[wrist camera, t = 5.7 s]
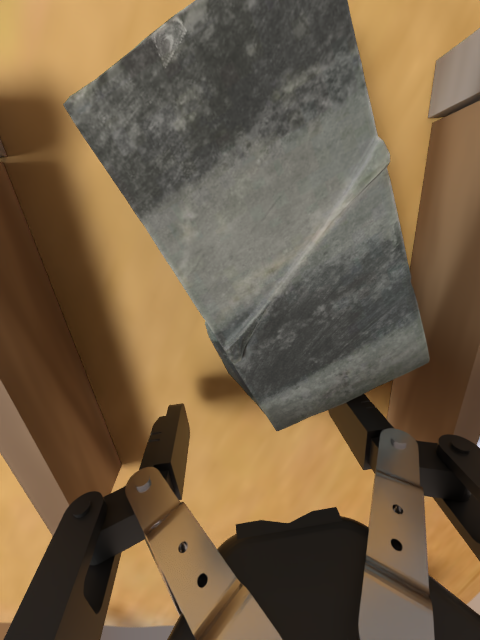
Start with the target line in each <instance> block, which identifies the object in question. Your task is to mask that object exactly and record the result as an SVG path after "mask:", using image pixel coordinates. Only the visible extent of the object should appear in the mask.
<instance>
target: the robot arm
mask: <svg viewBox="0 0 480 640" xmlns="http://www.w3.org/2000/svg"><path fill="white" fill-rule="evenodd" d="M328 411H329V414H330V416H331V418H332V419H333V421H334V423H335V424H336V426H337V428H338V429H339V431H340V433H341V434H342V436H343V438H344V439H345V441H346V442H347V444H348V446H349V447H350V449H351V451H352V452H353V454H354V456H355V457H356V459H357V461H358V462H359V464H360V466H361V467H362V469H363V470H367V469H372V470H373V471H374V473H375V478H374V486H373V494H372V503H371V511H370V519H369V527H367V526H365V525H364V524H362V523H360V522H358V521H356V520H353V519H350V518H346V517H342V516H340V515H339V512H338V510H337V508H336V507H334V508H328V509H322V510H317V511H312V512H310V513H308V514H306V515H304V516H302V517H300V518H298V519H296V520H294V521H293V522H290V523H280V522H272V521H264V520H259V521H253V522H248V523H242V524H236V533H237V534H235V535H234V536H232V537H230V538H229V539H227V540H226V541H225V542H224V543H223V544H222V545H221V546H220V547H219V548H218V549H216V547H215V546H214V545H213V543H212V542H211V540H210V539H209V537H208V536H207V534H206V533H205V532H204V530H203V529H202V527H201V526H200V524H199V523H198V521H197V520H196V519H195V517H194V516H193V514H192V513H191V511H190V510H189V508H188V507H187V506H186V504H185V503H184V502H180V501H179V500H182V494H183V486H184V478H185V470H186V462H187V454H188V446H189V438H190V429H189V423H188V419H187V415H186V411H185V406H184V404H183V403H182V404H176V405H169V407H168V410H167V414H166V416H162V417H159V418H158V420H157V421H156V422H155V423H154V425H153V428H152V431H151V435H150V437H149V440H148V443H147V446H146V450H145V453H144V456H143V459H142V462H141V465H140V468H139V471H137V472H136V473H135V474H133V475H132V476H131V478H130V479H129V480H128V482H127V484H126V486H125V487H123V488H121V489H119V490H117V491H115V492H113V493H111V494H109V495H106V496H104V497H103V496H102V494H101V493H100V492H97V491H91V492H87V493H85V494H83V495H81V496H80V497H78V498H77V499H76V500H74V501H73V502H72V503H71V504H70V505H69V507H68V508H67V509H66V511H65V513H64V514H63V517H62V519H61V521H60V523H59V525H58V527H57V529H56V531H55V533H54V535H53V537H52V540H51V542H50V544H49V546H48V548H47V550H46V552H45V554H44V556H43V558H42V560H41V563H40V565H39V567H38V569H37V571H36V573H35V575H34V577H33V579H32V581H31V583H30V586H29V588H28V590H27V592H26V594H25V596H24V598H23V600H22V602H21V604H20V606H19V609H18V611H17V613H16V615H15V617H14V619H13V621H12V623H11V625H10V627H9V629H8V632H7V634H6V636H5V638H4V640H100V638H101V634H102V630H103V626H104V622H105V618H106V614H107V610H108V605H109V601H110V597H111V593H112V589H113V585H114V581H115V577H116V573H117V568H118V564H119V560H120V556H121V552H122V551H124V550H126V549H128V548H129V547H131V546H133V545H135V544H137V543H139V542H140V541H142V540H144V539H145V541H146V543H147V546H148V548H149V550H150V552H151V554H152V556H153V558H154V561H155V563H156V565H157V567H158V569H159V571H160V573H161V576H162V578H163V580H164V582H165V584H166V587H167V589H168V591H169V593H170V596H171V598H172V600H173V602H174V604H175V606H176V609H177V611H178V613H179V615H180V617H179V619H178V621H177V622H176V624H175V626H174V628H173V630H172V632H171V634H170V636H169V638H168V639H167V640H480V615H479V614H477V613H476V612H475V611H474V610H472V609H471V608H470V607H468V606H467V605H466V604H465V603H463V602H462V601H461V600H460V599H458V598H457V597H456V596H455V595H453V594H452V593H451V592H450V591H448V590H447V589H446V588H445V587H443V586H442V585H441V584H440V583H438V582H437V581H436V580H435V579H433V578H432V577H431V576H429V575H428V562H427V544H426V526H425V508H424V496H430V497H433V498H434V500H435V501H436V502H437V504H438V505H439V506H440V508H441V509H442V511H443V512H444V513H445V515H446V516H447V517H448V519H449V520H450V521H451V523H452V524H453V525H454V527H455V528H456V529H457V531H458V532H459V534H460V535H461V536H462V538H463V539H464V540H465V542H466V543H467V544H468V546H469V547H470V548H471V550H472V551H473V553H474V554H475V555H476V557H477V558H478V559H479V561H480V448H479V447H478V446H477V445H475V444H474V443H473V442H471V441H469V440H467V439H465V438H463V437H460V436H457V435H452V434H446V435H442V436H441V437H440V438H439V440H438V443H432V442H424V441H417V440H415V439H414V438H413V437H412V436H411V435H409V434H408V433H406V432H404V431H402V430H399V429H395V428H394V427H393V426H392V425H391V424H390V423H389V422H388V421H387V419H386V418H385V417H384V416H383V415H382V414H381V413H380V411H379V410H378V409H377V408H375V406H374V405H373V404H372V402H370V400H369V399H368V398H367V397H366V396H365V395H364V394H362V395H360V396H358V397H356V398H354V399H352V400H350V401H348V402H346V403H344V404H342V405H339V406H337V407H334V408H332V409H329V410H328Z"/></svg>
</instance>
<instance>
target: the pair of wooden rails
mask: <svg viewBox="0 0 480 640" xmlns="http://www.w3.org/2000/svg"><path fill="white" fill-rule="evenodd" d="M436 117H444V118H442V119H440V120H438V121H436V122H434V123H432V129H431V136H430V142H429V149H428V155H427V162H426V168H425V175H424V181H423V188H422V194H421V201H420V207H419V214H418V221H417V227H416V234H415V240H414V247H413V253H412V260H411V266H410V274H411V284H412V287H413V289H414V293H415V296H416V299H417V303H418V308H419V312H420V317H421V321H422V325H423V329H424V334H425V338H426V343H427V347H428V353H429V358H430V360H429V363H427V364H425V365H423V366H421V367H419V368H417V369H415V370H413V371H411V372H409V373H406V374H404V375H402V376H400V377H398V378H395V379H393V384H392V390H391V397H390V403H389V410H388V416H387V421H388V422H389V423H390V424H391V425H392V426H393V427H394V428H395V429H399V430H402V431H404V432H406V433H408V434H409V435H411V436H412V437H413V438H414V439H415V440H417V441H424V442H432V443H438V440H439V438H440V437H441V436H442V435H446V434H452V435H457V436H460V437H463V438H465V439H467V440H469V441H471V442H473V443H474V444H475V445H477V442H478V439H479V436H480V28H479V29H478V30H476V31H475V32H474V33H473V34H471V35H470V36H469V37H467V38H466V39H465V40H463V41H462V42H461V43H459V44H458V45H457V46H455V47H454V48H453V49H451V50H450V51H449V52H447V53H446V54H445V55H443V56H442V57H441V58H439V59H438V60H437V61H436V67H435V74H434V81H433V88H432V95H431V101H430V108H429V115H428V118H436ZM0 157H7V155H6V152H5V149H4V147H3V144H2V142H1V139H0ZM0 453H1V455H2V456H3V458H4V459H5V461H6V463H7V464H8V466H9V467H10V469H11V471H12V472H13V474H14V475H15V477H16V478H17V480H18V482H19V483H20V485H21V486H22V488H23V490H24V491H25V493H26V494H27V496H28V498H29V499H30V501H31V502H32V504H33V505H34V507H35V509H36V510H37V512H38V513H39V515H40V517H41V518H42V520H43V521H44V523H45V524H46V526H47V528H48V529H49V531H50V532H51V534H52V536H53V535H54V533H55V531H56V529H57V527H58V525H59V523H60V521H61V519H62V517H63V514H64V513H65V511H66V509H67V508H68V507H69V505H70V504H71V503H72V502H73V501H74V500H76V499H77V498H78V497H80V496H81V495H83V494H85V493H87V492H91V491H97V492H100V493H101V494H102V496H103V497H104V496H106V495H109V494H110V493H111V491H112V488H113V486H114V483H115V481H116V478H117V476H118V473H119V471H120V468H121V466H122V465H121V462H120V460H119V457H118V454H117V452H116V449H115V447H114V444H113V442H112V439H111V437H110V434H109V431H108V429H107V426H106V424H105V421H104V419H103V416H102V414H101V411H100V409H99V406H98V403H97V401H96V398H95V396H94V393H93V391H92V388H91V386H90V383H89V380H88V378H87V375H86V373H85V370H84V368H83V365H82V363H81V360H80V357H79V355H78V352H77V350H76V347H75V345H74V342H73V340H72V337H71V334H70V332H69V329H68V327H67V324H66V322H65V319H64V317H63V314H62V311H61V309H60V306H59V304H58V301H57V299H56V296H55V294H54V291H53V289H52V286H51V283H50V281H49V278H48V276H47V273H46V271H45V268H44V266H43V263H42V260H41V258H40V255H39V253H38V250H37V248H36V245H35V243H34V240H33V237H32V235H31V232H30V230H29V227H28V225H27V222H26V220H25V217H24V214H23V212H22V209H21V207H20V204H19V202H18V199H17V197H16V194H15V191H14V189H13V186H12V184H11V181H10V179H9V176H8V174H7V171H6V169H5V166H4V163H3V162H0Z"/></svg>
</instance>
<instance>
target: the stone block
mask: <svg viewBox="0 0 480 640" xmlns="http://www.w3.org/2000/svg"><path fill="white" fill-rule="evenodd" d="M63 105H64V107H65V109H66V110H67V112H68V113H69V115H70V117H71V118H72V120H73V121H74V123H75V125H76V126H77V128H78V129H79V131H80V132H81V134H82V135H83V137H84V138H85V140H86V141H87V143H88V144H89V146H90V147H91V149H92V150H93V152H94V153H95V154H96V156H97V157H98V159H99V160H100V162H101V163H102V165H103V166H104V168H105V169H106V171H107V172H108V174H109V175H110V176H111V178H112V179H113V181H114V182H115V184H116V185H117V187H118V188H119V190H120V191H121V193H122V194H123V195H124V197H125V198H126V200H127V201H128V203H129V204H130V206H131V208H132V209H133V211H134V212H135V214H136V215H137V217H138V218H139V219H140V221H141V222H142V223H143V225H144V226H145V228H146V229H147V231H148V233H149V234H150V236H151V237H152V239H153V241H154V242H155V244H156V245H157V247H158V249H159V250H160V252H161V253H162V255H163V256H164V258H165V259H166V261H167V262H168V264H169V265H170V267H171V268H172V270H173V271H174V273H175V275H176V276H177V278H178V279H179V281H180V282H181V284H182V286H183V287H184V289H185V290H186V292H187V293H188V295H189V297H190V298H191V300H192V301H193V303H194V304H195V306H196V307H197V309H198V310H199V312H200V313H201V315H202V316H203V318H204V319H205V325H206V329H207V332H208V335H209V338H210V339H211V341H212V343H213V345H214V347H215V349H216V351H217V352H218V354H219V356H220V358H221V359H222V361H223V363H224V365H225V367H226V369H227V371H228V373H229V374H230V375H231V376H232V377H233V378H234V379H235V381H236V382H237V383H238V384H239V385H240V386H241V387H242V388H243V389H244V391H245V392H246V393H247V394H248V395H249V396H250V397H251V399H252V400H253V401H254V402H255V403H256V404H257V405H258V406H259V407H260V409H261V410H262V411H263V412H264V413H265V414H266V416H267V417H268V419H269V420H270V422H271V423H272V425H273V427H274V428H275V430H276V431H279V430H282V429H284V428H286V427H289V426H291V425H293V424H296V423H298V422H300V421H302V420H304V419H306V418H308V417H311V416H313V415H316V414H318V413H321V412H324V411H327V410H329V409H332V408H334V407H337V406H339V405H342V404H344V403H346V402H348V401H350V400H352V399H354V398H356V397H358V396H360V395H362V394H364V393H366V392H368V391H370V390H372V389H373V388H375V387H377V386H380V385H382V384H384V383H387V382H389V381H391V380H393V379H395V378H398V377H400V376H402V375H404V374H406V373H409V372H411V371H413V370H415V369H417V368H419V367H421V366H423V365H425V364H427V363H429V360H430V358H429V353H428V347H427V343H426V338H425V334H424V329H423V325H422V321H421V317H420V312H419V308H418V303H417V299H416V296H415V293H414V289H413V287H412V284H411V274H410V270H409V266H408V262H407V257H406V252H405V246H404V241H403V236H402V232H401V227H400V222H399V218H398V213H397V209H396V204H395V200H394V195H393V190H392V186H391V181H390V177H389V174H388V170H387V166H388V164H389V162H390V153H389V151H388V149H387V147H386V145H385V143H384V141H383V140H382V139H381V138H379V137H378V135H377V131H376V126H375V122H374V117H373V112H372V108H371V104H370V100H369V96H368V91H367V87H366V83H365V78H364V73H363V68H362V64H361V59H360V55H359V51H358V47H357V43H356V38H355V34H354V29H353V25H352V21H351V16H350V11H349V6H348V1H347V0H195V1H194V2H193V3H191V4H190V5H188V6H187V7H186V8H184V9H183V10H181V11H180V12H179V13H177V14H176V15H174V16H173V17H172V18H170V19H169V20H168V21H167V22H165V23H164V24H163V25H162V26H160V27H159V28H158V29H157V30H155V31H154V32H153V33H152V34H150V35H149V36H148V37H147V38H145V39H144V40H143V41H142V42H141V43H139V44H138V45H137V46H136V47H135V48H134V49H133V50H132V51H130V52H129V53H128V54H127V55H125V56H124V57H123V58H122V59H120V60H119V61H118V62H117V63H115V64H114V65H113V66H112V67H110V68H109V69H108V70H107V71H105V72H104V73H103V74H102V75H100V76H99V77H98V78H97V79H95V80H94V81H92V82H91V83H89V84H88V85H86V86H85V87H83V88H82V89H80V90H79V91H77V92H76V93H74V94H73V95H71V96H70V97H69V98H68V99H67V101H66V102H65V103H64V104H63Z"/></svg>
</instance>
